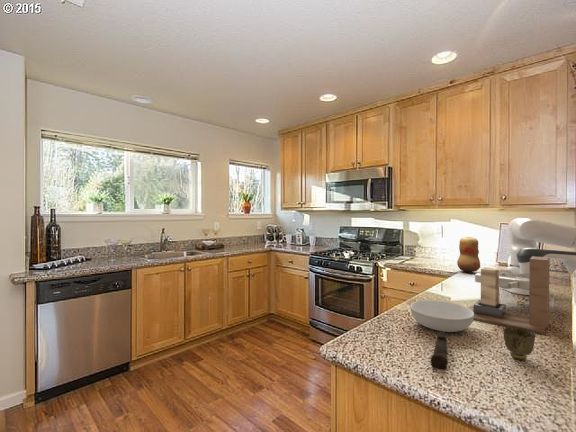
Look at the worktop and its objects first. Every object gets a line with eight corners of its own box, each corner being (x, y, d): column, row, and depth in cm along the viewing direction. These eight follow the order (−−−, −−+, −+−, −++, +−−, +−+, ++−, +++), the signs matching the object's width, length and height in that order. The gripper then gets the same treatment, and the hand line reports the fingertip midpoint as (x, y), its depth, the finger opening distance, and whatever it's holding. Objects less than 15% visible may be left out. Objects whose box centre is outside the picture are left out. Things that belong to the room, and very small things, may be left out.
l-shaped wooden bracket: (470, 308, 132) (471, 251, 132) (549, 323, 114) (549, 257, 114) (460, 317, 121) (460, 254, 121) (545, 335, 103) (546, 262, 103)
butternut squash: (456, 273, 210) (456, 237, 210) (457, 269, 221) (457, 235, 221) (480, 275, 203) (480, 238, 202) (480, 271, 214) (480, 236, 214)
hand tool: (447, 372, 79) (447, 355, 79) (430, 368, 82) (430, 351, 81) (452, 346, 95) (452, 331, 95) (438, 343, 98) (438, 328, 98)
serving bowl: (398, 323, 114) (398, 305, 114) (431, 313, 125) (431, 297, 125) (452, 344, 96) (452, 322, 96) (486, 330, 107) (486, 311, 107)
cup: (496, 352, 90) (496, 326, 90) (519, 351, 91) (519, 325, 91) (517, 365, 83) (517, 336, 83) (542, 364, 83) (542, 335, 83)
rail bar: (484, 310, 126) (484, 267, 126) (498, 313, 122) (499, 269, 122) (480, 313, 123) (480, 268, 123) (495, 316, 119) (495, 270, 119)
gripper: (535, 289, 129) (527, 295, 120) (481, 282, 145) (470, 286, 136) (535, 275, 129) (526, 279, 120) (481, 268, 145) (470, 272, 136)
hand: (496, 283), depth 128 cm, fingers open, 8 cm apart
